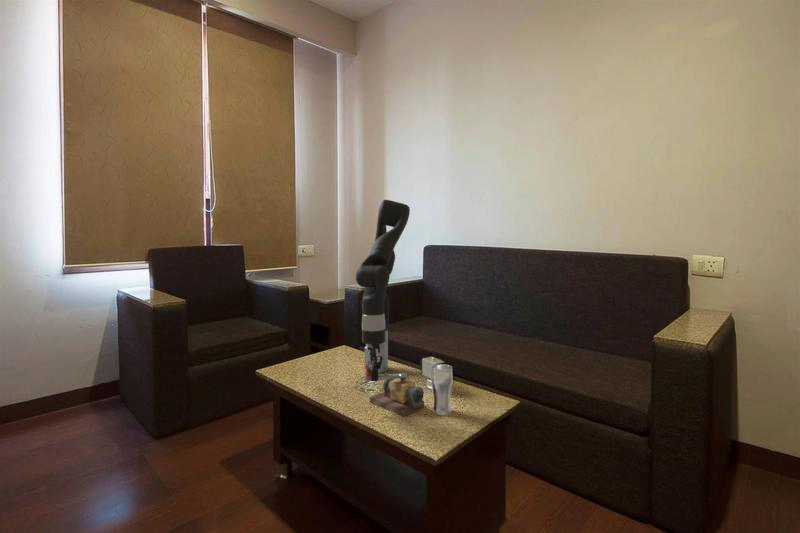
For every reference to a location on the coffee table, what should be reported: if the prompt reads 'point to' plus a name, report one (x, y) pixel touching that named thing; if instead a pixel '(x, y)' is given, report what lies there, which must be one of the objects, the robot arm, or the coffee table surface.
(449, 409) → the beer glass
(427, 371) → the pneumatic valve
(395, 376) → the valve lever
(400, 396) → the valve pipe
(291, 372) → the coffee table surface
